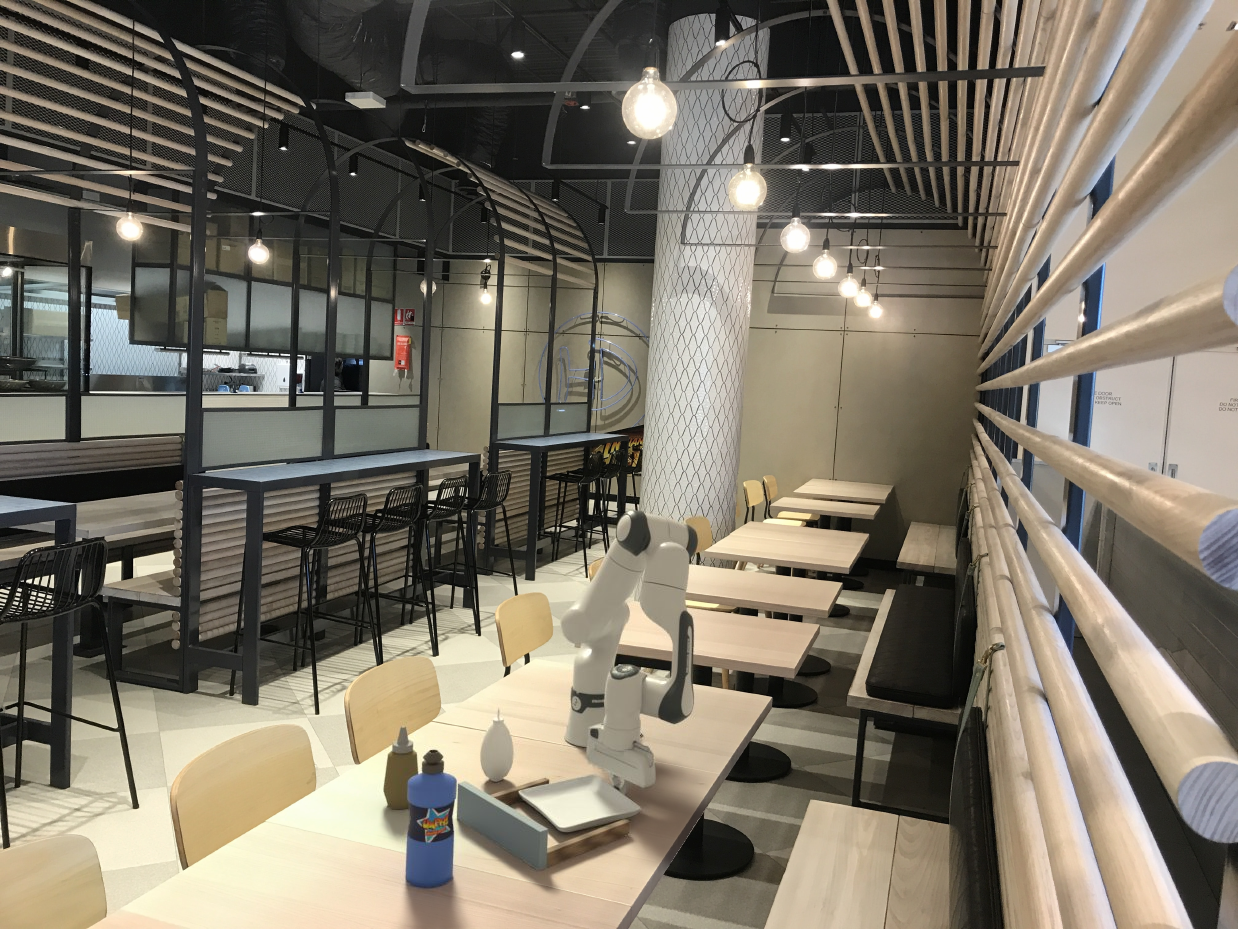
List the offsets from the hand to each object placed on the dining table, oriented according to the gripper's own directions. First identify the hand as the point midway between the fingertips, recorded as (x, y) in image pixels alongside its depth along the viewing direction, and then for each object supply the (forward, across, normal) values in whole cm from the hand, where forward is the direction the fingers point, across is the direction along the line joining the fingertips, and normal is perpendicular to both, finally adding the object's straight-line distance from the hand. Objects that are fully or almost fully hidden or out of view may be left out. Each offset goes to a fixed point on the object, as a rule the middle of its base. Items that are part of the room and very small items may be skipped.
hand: (619, 793), depth 224 cm
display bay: (+2, 0, +22) cm, 22 cm away
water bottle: (+2, -2, +53) cm, 53 cm away
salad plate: (+2, +1, +12) cm, 12 cm away
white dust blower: (+2, +26, +16) cm, 31 cm away
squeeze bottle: (+2, +29, +41) cm, 50 cm away
